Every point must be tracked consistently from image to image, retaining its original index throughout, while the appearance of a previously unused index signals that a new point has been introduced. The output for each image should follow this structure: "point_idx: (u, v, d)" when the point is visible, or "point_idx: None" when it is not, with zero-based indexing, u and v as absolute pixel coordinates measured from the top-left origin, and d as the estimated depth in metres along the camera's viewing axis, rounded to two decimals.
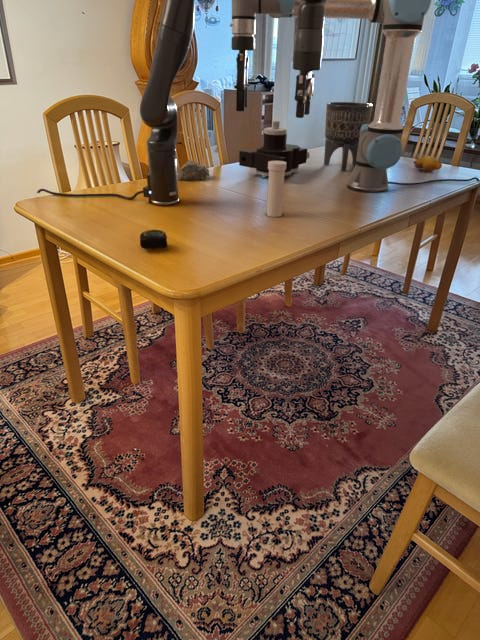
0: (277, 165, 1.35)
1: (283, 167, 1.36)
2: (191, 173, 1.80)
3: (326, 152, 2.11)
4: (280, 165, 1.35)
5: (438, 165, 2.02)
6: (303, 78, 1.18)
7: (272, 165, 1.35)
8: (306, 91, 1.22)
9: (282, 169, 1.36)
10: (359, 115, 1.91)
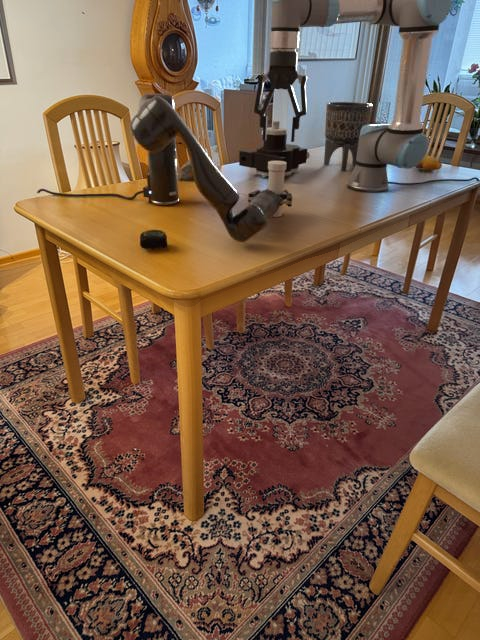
0: (277, 165, 1.35)
1: (283, 167, 1.36)
2: (191, 173, 1.80)
3: (326, 152, 2.11)
4: (280, 165, 1.35)
5: (438, 165, 2.02)
6: None
7: (272, 165, 1.35)
8: None
9: (282, 169, 1.36)
10: (359, 115, 1.91)
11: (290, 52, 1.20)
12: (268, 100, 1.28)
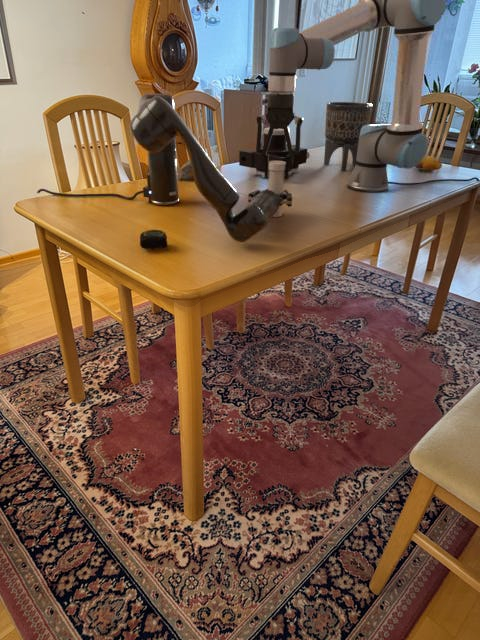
0: (277, 165, 1.35)
1: (283, 167, 1.36)
2: (191, 173, 1.80)
3: (326, 152, 2.11)
4: (280, 165, 1.35)
5: (438, 165, 2.02)
6: None
7: (272, 165, 1.35)
8: None
9: (282, 169, 1.36)
10: (359, 115, 1.91)
11: (287, 95, 1.25)
12: (268, 139, 1.33)
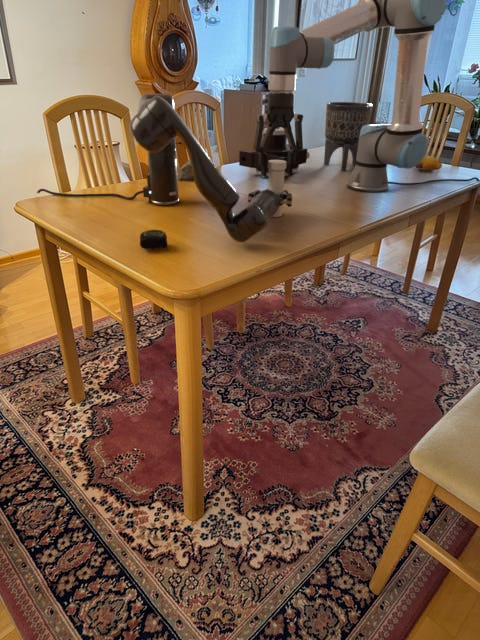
0: None
1: None
2: (191, 173, 1.80)
3: (326, 152, 2.11)
4: None
5: (438, 165, 2.02)
6: None
7: (284, 164, 1.36)
8: None
9: None
10: (359, 115, 1.91)
11: (292, 94, 1.26)
12: (269, 139, 1.31)
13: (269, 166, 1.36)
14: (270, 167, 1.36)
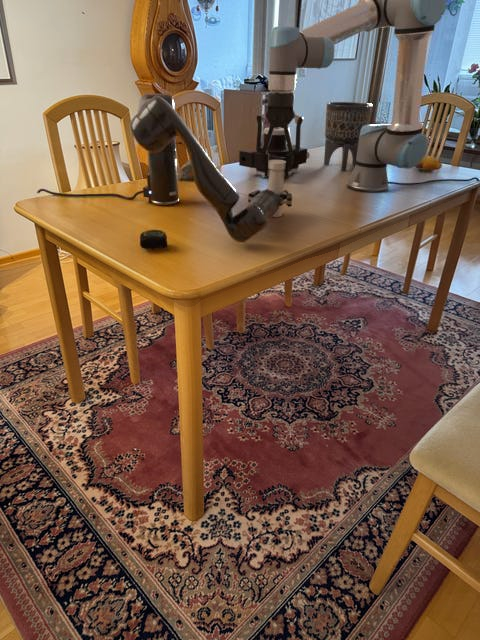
0: None
1: None
2: (191, 173, 1.80)
3: (326, 152, 2.11)
4: None
5: (438, 165, 2.02)
6: None
7: (284, 164, 1.36)
8: None
9: None
10: (359, 115, 1.91)
11: (287, 94, 1.25)
12: (268, 138, 1.33)
13: (269, 166, 1.36)
14: (270, 167, 1.36)
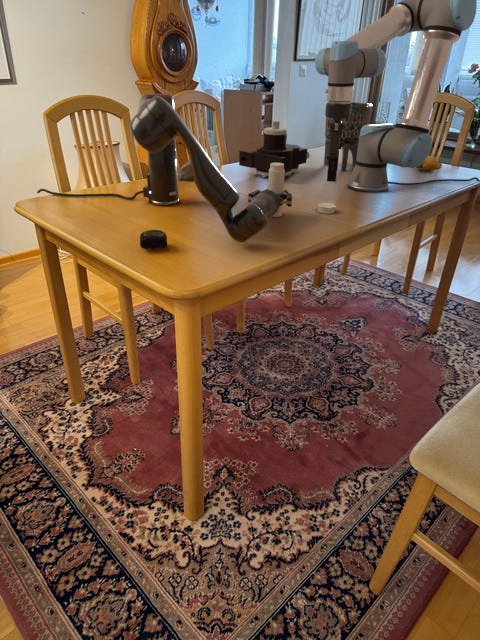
0: None
1: None
2: (191, 173, 1.80)
3: (326, 152, 2.11)
4: None
5: (438, 165, 2.02)
6: None
7: None
8: None
9: None
10: (359, 115, 1.91)
11: None
12: None
13: (331, 211, 1.47)
14: (332, 211, 1.47)
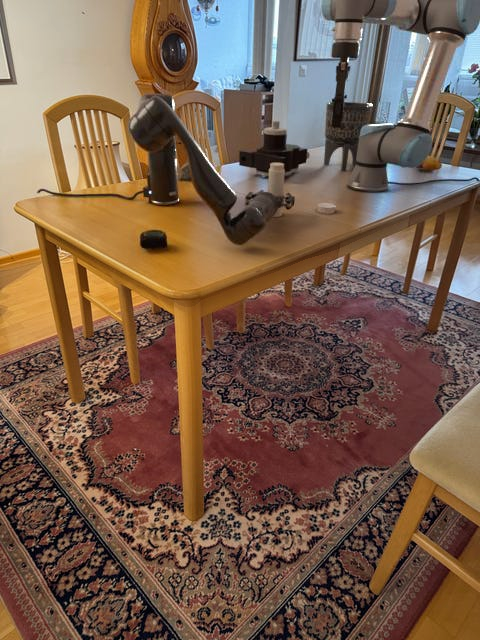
0: None
1: None
2: None
3: (326, 152, 2.11)
4: None
5: (438, 165, 2.02)
6: None
7: None
8: None
9: None
10: (359, 115, 1.91)
11: None
12: None
13: (331, 211, 1.47)
14: (332, 211, 1.47)
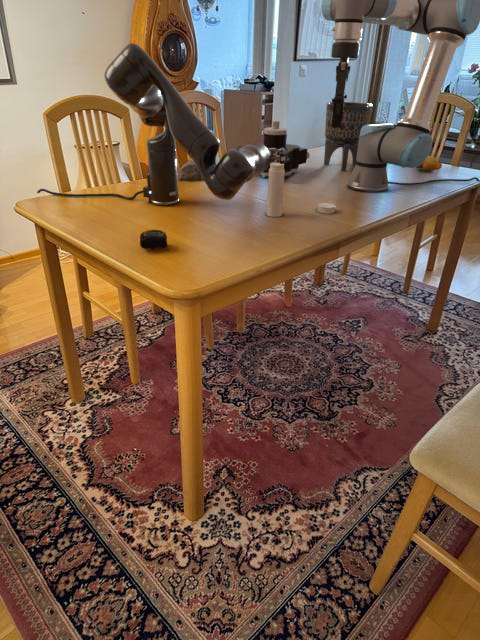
0: None
1: None
2: (191, 173, 1.80)
3: (326, 152, 2.11)
4: None
5: (438, 165, 2.02)
6: None
7: None
8: None
9: None
10: (359, 115, 1.91)
11: None
12: None
13: (331, 211, 1.47)
14: (332, 211, 1.47)
